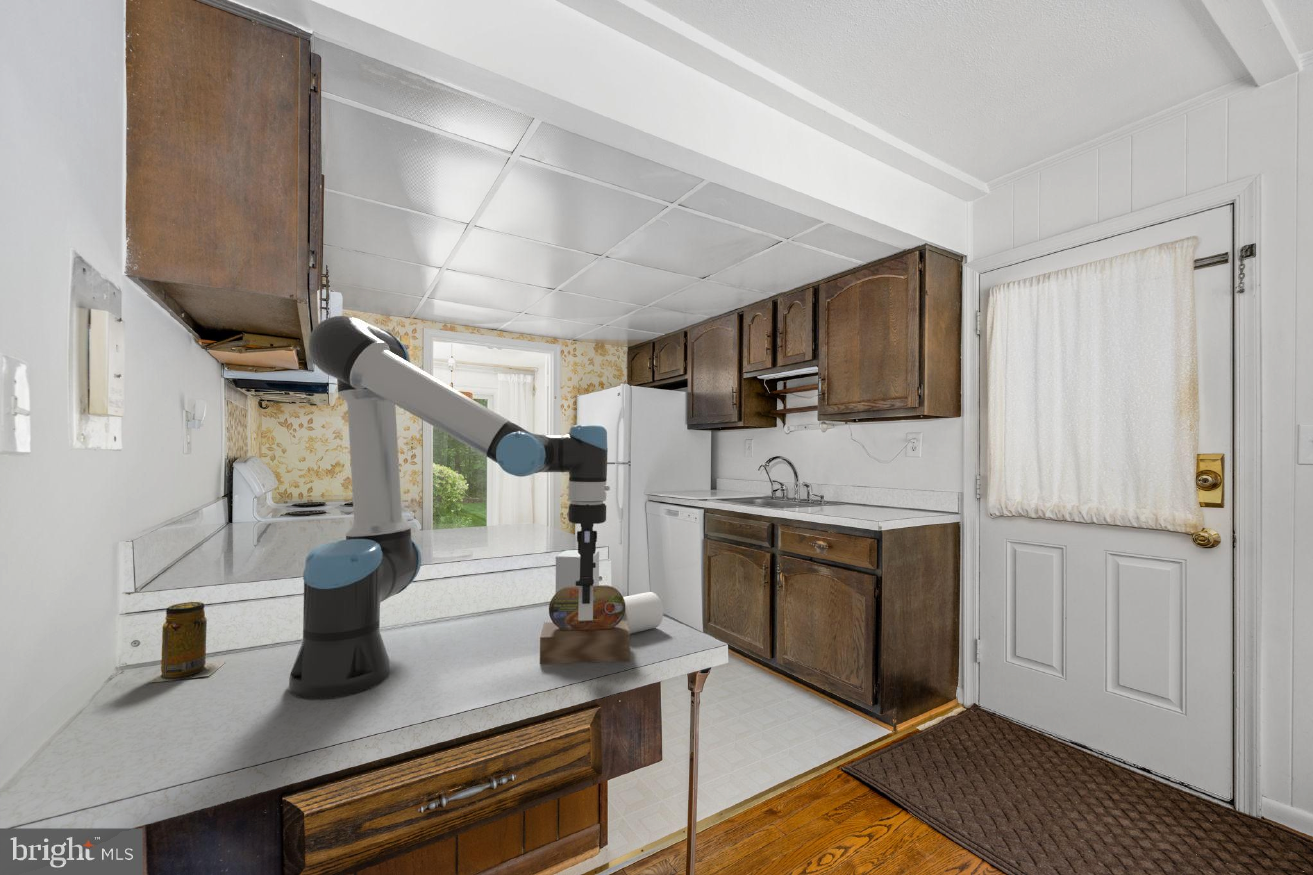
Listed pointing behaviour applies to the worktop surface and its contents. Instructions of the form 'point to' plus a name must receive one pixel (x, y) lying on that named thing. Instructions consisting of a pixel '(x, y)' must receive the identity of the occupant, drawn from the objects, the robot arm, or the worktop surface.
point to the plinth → (584, 644)
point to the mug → (642, 612)
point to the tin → (604, 609)
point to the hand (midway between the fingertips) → (585, 609)
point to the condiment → (185, 643)
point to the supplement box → (572, 569)
